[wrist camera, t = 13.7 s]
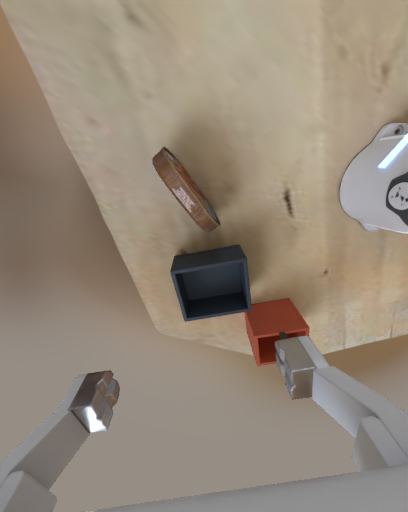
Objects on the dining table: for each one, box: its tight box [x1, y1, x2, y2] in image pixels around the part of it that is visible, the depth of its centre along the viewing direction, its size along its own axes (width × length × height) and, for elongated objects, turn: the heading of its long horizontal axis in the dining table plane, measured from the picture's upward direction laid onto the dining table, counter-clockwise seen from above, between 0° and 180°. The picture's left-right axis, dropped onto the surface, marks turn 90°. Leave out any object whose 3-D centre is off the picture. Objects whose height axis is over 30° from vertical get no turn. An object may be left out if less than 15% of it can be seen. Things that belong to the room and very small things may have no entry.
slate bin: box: [170, 245, 252, 321], centre depth 41 cm, size 14×12×7 cm
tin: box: [153, 147, 220, 232], centre depth 33 cm, size 15×3×8 cm, turn 37°
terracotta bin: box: [245, 299, 309, 366], centre depth 44 cm, size 11×9×12 cm
